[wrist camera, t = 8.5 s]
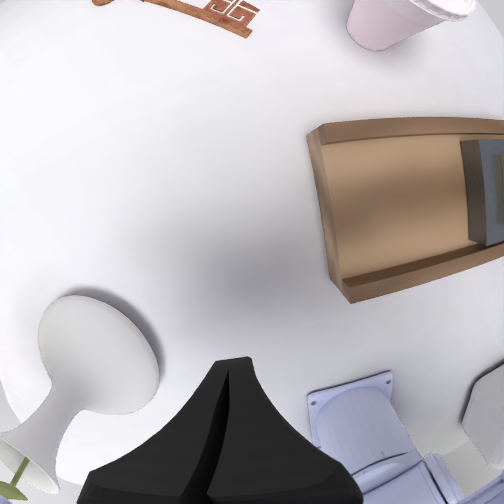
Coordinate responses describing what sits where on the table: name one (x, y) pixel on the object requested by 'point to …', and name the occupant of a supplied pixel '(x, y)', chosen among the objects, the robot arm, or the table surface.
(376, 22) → the smoothie
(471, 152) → the lever cap
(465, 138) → the wooden tray
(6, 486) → the flower in vase
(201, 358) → the table surface
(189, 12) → the key
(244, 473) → the robot arm
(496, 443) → the soap bottle
